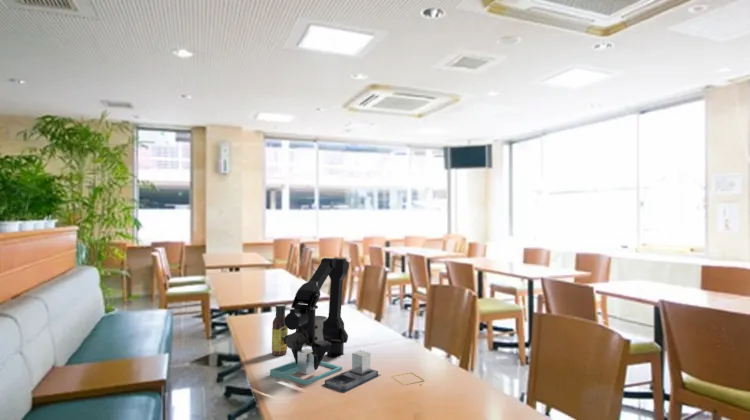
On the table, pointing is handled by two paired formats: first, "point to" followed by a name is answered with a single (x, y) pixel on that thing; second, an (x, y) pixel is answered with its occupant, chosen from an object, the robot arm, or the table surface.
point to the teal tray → (292, 368)
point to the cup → (319, 327)
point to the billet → (305, 361)
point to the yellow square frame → (410, 383)
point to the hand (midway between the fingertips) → (306, 366)
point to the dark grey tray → (349, 380)
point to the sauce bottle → (279, 331)
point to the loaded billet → (361, 363)
